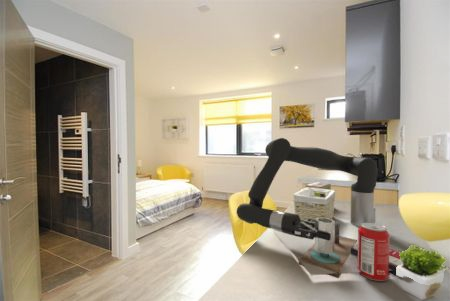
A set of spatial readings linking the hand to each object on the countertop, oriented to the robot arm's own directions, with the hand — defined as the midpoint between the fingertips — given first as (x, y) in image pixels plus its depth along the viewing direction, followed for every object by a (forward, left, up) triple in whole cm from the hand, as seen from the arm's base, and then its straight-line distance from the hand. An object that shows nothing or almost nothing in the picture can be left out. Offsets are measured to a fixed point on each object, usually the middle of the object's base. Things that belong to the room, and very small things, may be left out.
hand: (332, 234), depth 74 cm
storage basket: (-16, -43, -10) cm, 46 cm away
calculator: (-17, 0, -10) cm, 20 cm away
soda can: (-8, +7, -10) cm, 15 cm away
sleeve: (+2, -2, -6) cm, 7 cm away
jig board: (-4, -7, -10) cm, 13 cm away
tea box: (-30, -65, -10) cm, 72 cm away
